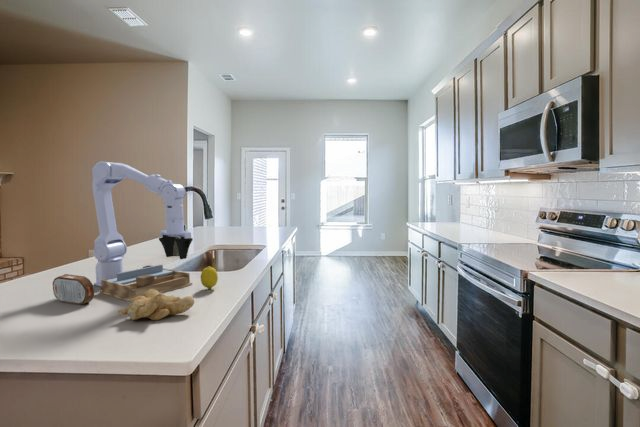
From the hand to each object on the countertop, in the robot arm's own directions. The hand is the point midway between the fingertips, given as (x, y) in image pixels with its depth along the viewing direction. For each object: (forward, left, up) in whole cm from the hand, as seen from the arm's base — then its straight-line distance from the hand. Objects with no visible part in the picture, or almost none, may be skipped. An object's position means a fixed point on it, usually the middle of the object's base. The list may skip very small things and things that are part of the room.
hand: (176, 257), depth 125 cm
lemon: (+12, +4, -11) cm, 17 cm away
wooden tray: (-7, -7, -10) cm, 14 cm away
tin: (-12, -27, -11) cm, 32 cm away
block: (-3, -10, -10) cm, 14 cm away
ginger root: (+20, -21, -11) cm, 31 cm away
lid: (-11, -7, -7) cm, 15 cm away
